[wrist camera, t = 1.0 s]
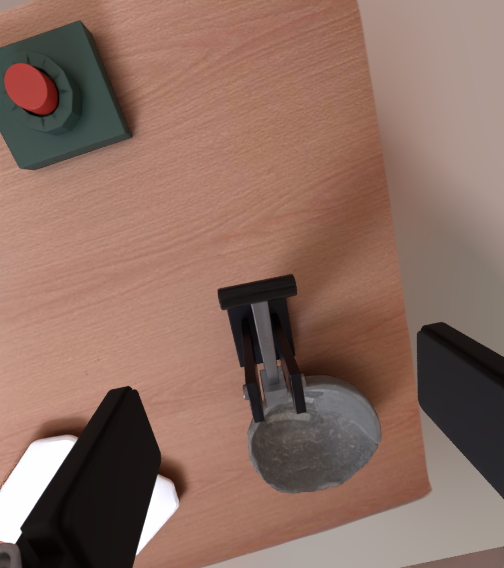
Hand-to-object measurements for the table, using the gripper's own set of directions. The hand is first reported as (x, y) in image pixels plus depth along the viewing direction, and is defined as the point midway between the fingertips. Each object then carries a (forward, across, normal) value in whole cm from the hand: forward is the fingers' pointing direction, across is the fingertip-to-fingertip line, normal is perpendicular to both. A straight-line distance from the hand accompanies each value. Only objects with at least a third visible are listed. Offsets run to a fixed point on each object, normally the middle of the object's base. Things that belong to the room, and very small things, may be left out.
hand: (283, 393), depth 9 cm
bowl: (+28, -4, +26) cm, 39 cm away
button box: (+28, +16, -19) cm, 38 cm away
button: (+24, +16, -19) cm, 35 cm away
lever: (+14, 0, +5) cm, 15 cm away
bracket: (+28, 0, +11) cm, 30 cm away
